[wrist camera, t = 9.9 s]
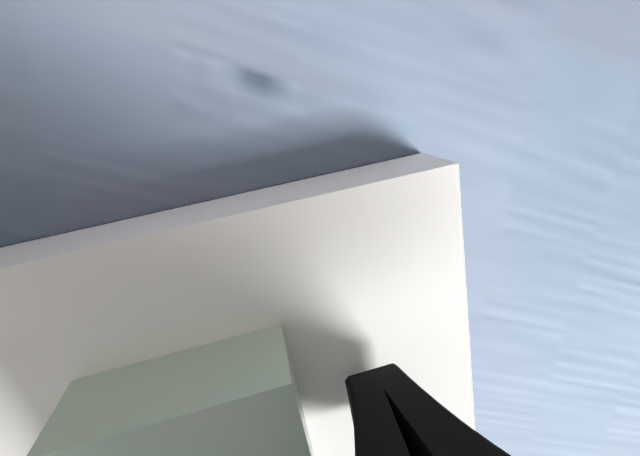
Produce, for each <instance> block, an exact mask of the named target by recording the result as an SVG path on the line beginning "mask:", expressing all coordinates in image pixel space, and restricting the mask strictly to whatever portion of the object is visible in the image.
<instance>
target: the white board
mask: <svg viewBox="0 0 640 456" xmlns="http://www.w3.org/2000/svg"><path fill="white" fill-rule="evenodd" d="M278 324H281V326H282V330H283V333H284V337H285V341H286V345H287V349H288V353H289V357H290V361H291V365H292V369H293V373H294V377H295V381H296V384H297V388H298V392H299V396H300V400H301V404H302V408H303V412H304V416H305V420H306V424H307V428H308V432H309V435H310V439H311V443H312V447H313V451H314V455H315V456H355V441H354V425H353V420H352V415H351V410H350V405H349V400H348V394H347V389H346V384H345V380H346V379H347V377H348V376H350V375H354V374H357V373H361V372H364V371H368V370H371V369H374V368H378V367H381V366H385V365H388V364H392V363H394V364H395V365H397V366H398V367H399V368H400V369H401V370H403V371H404V372H405V373H406V374H407V375H408V376H409V377H410V378H411V379H412V380H413V381H414V382H416V383H417V384H418V385H419V386H420V387H421V388H422V389H423V390H425V391H426V392H427V393H428V394H429V395H430V396H432V397H433V398H434V399H435V400H436V401H438V402H439V403H440V404H441V405H443V406H444V407H445V408H446V409H448V410H449V411H450V412H451V413H453V414H454V415H455V416H456V417H458V418H459V419H460V420H461V421H463V422H464V423H465V424H467V425H468V426H469V427H471V428H472V429H473V430H475V420H474V404H473V388H472V371H471V355H470V339H469V323H468V307H467V291H466V275H465V259H464V243H463V227H462V211H461V195H460V179H459V163H456V162H453V161H449V160H446V159H442V158H439V157H435V156H432V155H428V154H425V153H419V154H414V155H410V156H406V157H401V158H397V159H392V160H388V161H383V162H379V163H374V164H370V165H366V166H361V167H357V168H352V169H348V170H343V171H339V172H334V173H330V174H326V175H321V176H317V177H312V178H308V179H303V180H299V181H294V182H290V183H286V184H281V185H277V186H272V187H268V188H263V189H259V190H254V191H250V192H246V193H241V194H237V195H232V196H228V197H223V198H219V199H214V200H210V201H206V202H201V203H197V204H192V205H188V206H183V207H179V208H174V209H170V210H165V211H161V212H157V213H152V214H148V215H143V216H139V217H134V218H130V219H125V220H121V221H117V222H112V223H108V224H103V225H99V226H94V227H90V228H85V229H81V230H77V231H72V232H68V233H63V234H59V235H54V236H50V237H45V238H41V239H37V240H32V241H28V242H23V243H19V244H14V245H10V246H5V247H1V248H0V456H27V454H28V453H29V451H30V449H31V448H32V446H33V444H34V443H35V441H36V439H37V438H38V436H39V434H40V433H41V431H42V429H43V428H44V426H45V424H46V423H47V421H48V419H49V418H50V416H51V414H52V413H53V411H54V409H55V408H56V406H57V404H58V403H59V401H60V399H61V398H62V396H63V394H64V393H65V391H66V389H67V388H68V386H69V384H70V383H71V381H72V380H74V379H78V378H82V377H86V376H89V375H93V374H97V373H100V372H104V371H108V370H112V369H115V368H119V367H123V366H126V365H130V364H134V363H137V362H141V361H145V360H149V359H152V358H156V357H160V356H163V355H167V354H171V353H175V352H178V351H182V350H186V349H189V348H193V347H197V346H201V345H204V344H208V343H212V342H215V341H219V340H223V339H227V338H230V337H234V336H238V335H241V334H245V333H249V332H253V331H256V330H260V329H264V328H267V327H271V326H275V325H278Z"/></svg>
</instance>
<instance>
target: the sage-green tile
mask: <svg viewBox="0 0 640 456" xmlns="http://www.w3.org/2000/svg"><path fill="white" fill-rule="evenodd" d="M27 456H315V455H314V451H313V447H312V443H311V439H310V435H309V432H308V428H307V424H306V420H305V416H304V412H303V408H302V404H301V400H300V396H299V392H298V388H297V384H296V381H295V377H294V373H293V369H292V365H291V361H290V357H289V353H288V349H287V345H286V341H285V337H284V333H283V330H282V326H281V324H278V325H275V326H271V327H267V328H264V329H260V330H256V331H253V332H249V333H245V334H241V335H238V336H234V337H230V338H227V339H223V340H219V341H215V342H212V343H208V344H204V345H201V346H197V347H193V348H189V349H186V350H182V351H178V352H175V353H171V354H167V355H163V356H160V357H156V358H152V359H149V360H145V361H141V362H137V363H134V364H130V365H126V366H123V367H119V368H115V369H112V370H108V371H104V372H100V373H97V374H93V375H89V376H86V377H82V378H78V379H74V380H72V381H71V383H70V384H69V386H68V388H67V389H66V391H65V393H64V394H63V396H62V398H61V399H60V401H59V403H58V404H57V406H56V408H55V409H54V411H53V413H52V414H51V416H50V418H49V419H48V421H47V423H46V424H45V426H44V428H43V429H42V431H41V433H40V434H39V436H38V438H37V439H36V441H35V443H34V444H33V446H32V448H31V449H30V451H29V453H28V454H27Z"/></svg>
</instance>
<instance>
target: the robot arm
mask: <svg viewBox="0 0 640 456" xmlns="http://www.w3.org/2000/svg"><path fill="white" fill-rule="evenodd" d="M345 384H346V389H347V394H348V400H349V405H350V410H351V415H352V420H353V425H354V441H355V456H511V455H509V454H508V453H506V452H505V451H503V450H502V449H500V448H499V447H497V446H496V445H494V444H493V443H492V442H490V441H489V440H487V439H486V438H485V437H483V436H482V435H480V434H479V433H478V432H476V431H475V430H473V429H472V428H471V427H469V426H468V425H467V424H465V423H464V422H463V421H461V420H460V419H459V418H458V417H456V416H455V415H454V414H453V413H451V412H450V411H449V410H448V409H446V408H445V407H444V406H443V405H441V404H440V403H439V402H438V401H436V400H435V399H434V398H433V397H432V396H430V395H429V394H428V393H427V392H426V391H425V390H423V389H422V388H421V387H420V386H419V385H418V384H417V383H416V382H414V381H413V380H412V379H411V378H410V377H409V376H408V375H407V374H406V373H405V372H404V371H403V370H401V369H400V368H399V367H398V366H397V365H395V364H394V363H392V364H388V365H385V366H381V367H378V368H374V369H371V370H368V371H364V372H361V373H357V374H354V375H350V376H348V377H347V379H346V380H345Z"/></svg>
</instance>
